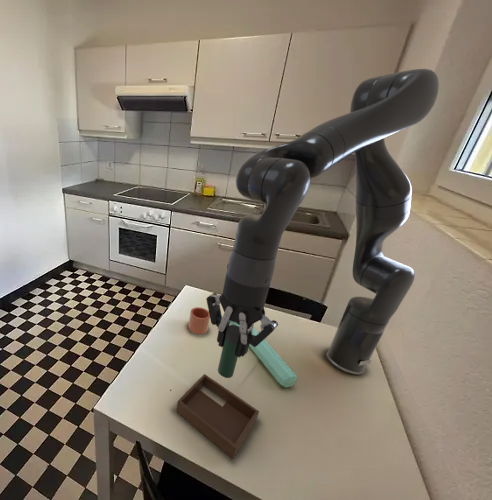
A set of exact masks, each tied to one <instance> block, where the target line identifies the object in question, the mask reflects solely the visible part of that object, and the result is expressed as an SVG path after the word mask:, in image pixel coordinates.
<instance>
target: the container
mask: <svg viewBox="0 0 492 500" xmlns="http://www.w3.org/2000/svg"><path fill="white" fill-rule="evenodd" d="M230 325H236V326H239V327H240V325H238V324H237V323H236V322H233V321H231V323H230ZM258 333H259V332H258V330H256V328H255V327H254V326H253V329H252V335H255V336H256V335H257V334H258ZM249 348H250V349H251V351H252V352H254V354H255V355H256V356H257V358H258V359H259V360H260V362H261V363H262V364H263V365H264V366H265V368H266V369H267V370H268V371H269V373H270V374H271V375H272V377H273V378H274V379H275V380H276V382H277V383H278V384H279V385H280V386H281V387H284V388H290V387H292V386H294V385H295V384H296V383H297V380H298V377H297V374H296V373H295V372H294V371H293V370H292V369H291V367H290V366H289V365H288V364H287V363H286V362H285V361H284V360H283V359H282V357H281V356H280V355H279V354H278V353H277V351H275V349H273V347H272V346H271V345H270V344H269V343H268V342H267V341H266V340H265V339H264V340H263V341H262V342H261V343H260V344H258V345H257V346H256V347H253V346H252V345H251V344H249Z"/></svg>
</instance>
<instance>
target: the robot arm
mask: <svg viewBox="0 0 492 500" xmlns="http://www.w3.org/2000/svg"><path fill="white" fill-rule="evenodd" d="M439 81H440V80H439V77H438V75H437V73H436V72H435V71H434V70H432V69H428V68H416V69H415V68H414V69H408V70H403V71H398V72H393V73H387V74H384V75H379V76H374V77H370V78H367V79H365V80H362V81H361V82H360V83H359V84H358V85H357V87H356V88H355V90H354V93H353V94H352V98H351V102H350V110H349V112H348V113H345V114H342V115H339V116H337V117H334V118H331V119H329V120H327V121H325V122H323V123H320V124H318V125H316V126H315V127H313V128H312V129H310V130H308V131H307V132H305V133H303V134H302V135H300V136H299V137H297V138H296V139H293V140H291V141H288V142H284V143H281V144H278V145H275V146H272V147H269V148H266V149H263V150H261V151H259V152H257V153H255V154H253V155H252V156H250V157H249V158H248V159H246V160H245V161H244V162H243V164H242V165H241V166H240V168H239V169H238V171H237V174H236V178H235V187H236V189H237V191H238V193H239V194H240V195H241V196H242V197H243V198H245V199H248V200H251V201H255V202H258V203H261V204H265V205H266V206H265V209H264V210H263V212H262V213H261V214H248V215H244V216H243V217H241V219H239V221H238V224H237V228H236V232H235V235H234V241H233V247H232V251H231V253H230V256H229V259H228V263H227V265H226V273H225V278H224V284H223V287H222V293H221V294H218V293H216V292H213V293H212V294H209V295H208V296H207V297H206V300H205V301H206V305H207V310H208V311H209V315H210V320H209V321H210V323H211V325H213V326H216V327H217V330H218V332H217V337H216V342H217V343H218V345H217V346H219V347H221V348H223V344H224V339H225V334H226V329H227V327H228V326H229V325H230V324H231V321H233V322H236V323H237V324H238V325H240V333H241V341H240V342H239V345H238V349H237V353H236V356H237V357H238V359H240V358H241V357H242V358H243V357H245V355H247V353H248V351H249V348H250V346H249V344H251V345H252V346H253V347H256V346H257V345H258V344H260V343H261V342H262V341H263V340H265V339H267V338H268V337H269V336H270V335H271V334H272V333H273V332H274V331H275V330H276V329H277V328H278V326H279V322H278V321H276V320H275V319H273V320H271V319H270V318H269V317H268V316H266V311H265V306H266V305H265V304H266V301H267V297H268V294H269V290H270V287H271V284H272V279H273V275H274V272H275V268H276V259H277V256H278V255H277V254H278V251H279V248H280V244H281V242H282V241H281V240H282V236H283V235H284V232H285V231H286V229H287V227H288V226H289V224H290V222H291V220H292V218H293V217H294V215H295V213H296V212H297V210H298V209H299V207H300V206H301V205H302V204H303V201H304V199H305V198H306V196H307V194H308V192H309V189H310V186H311V180H312V179H315V178H317V177H319V176H321V175H323V174H324V173H326V172H327V171H328V170H330V169H331V168H333V167H335V166H336V165H337V164H339V163H340V162H342V161H343V160H345V159H347V158H348V157H349V156H351V155H353V154H354V160H355V217H356V218H355V219H356V220H355V222H356V224H355V225H356V229H355V230H356V231H355V249H354V253H353V254H354V255H353V262H352V278H353V280H354V282H355V283H356V284H358V285H359V286H360V287H362V288H364V289H366V290H368V291H370V292H372V293H374V294H375V295H374V297H373V298H371V297H367V296H353V297H351V298H350V299H349V300H348V302H347V305H346V307H345V309H344V312H343V314H342V317H341V319H340V321H339V324H338V326H337V329H336V331H335V333H334V336H333V338H332V340H331V343H330V346H329V347H328V350H327V351H326V355H325V356H326V359H327V360H328V361H329V363H330V364H331V365H332V366H333V367H335V368H336V369H338V370H340V371H342V372H343V373H347V374H350V375H354V376H355V375H363V374H364V373H365V371H366V369H367V365H370V363H371V361H372V359H371V358H372V356H373V354H374V352H375V351H376V349H377V346H378V344H379V342H380V340H381V338H382V336H383V334H384V332H385V330H386V328H387V326H388V324H389V323H390V320H391V319H392V317H393V316H394V315H395V313H396V312H397V311H398V309H399V307H400V306H401V304H402V302H403V301H404V299H405V297H406V296H407V294H408V293H409V290H410V289H411V287H412V286H413V284H414V281H415V278H416V277H415V275H416V274H415V270H414V269H413V268H412V267H410V266H409V265H406V264H404V263H401V262H399V261H397V260H394V259H392V258H389V257H387V256H385V255H384V254H383V246H384V241H385V240H387V238H388V237H389V236H391V235H392V234H393V233H394V232H396V231H397V230H398V229H399V228H400V227H401V226H402V225H403V224H404V223H405V222H406V221H407V220H408V218H409V216H410V212H411V204H412V203H411V202H412V193H413V187H412V184H411V181H410V179H409V178H408V176H407V174H406V173H405V171H404V170H403V169H402V168H401V166H400V165H399V164H398V162H396V161H395V159H394V158H393V156H392V155H391V154H390V152H389V150H388V148H387V145H386V142H385V138H387V137H389V136H392V135H394V134H396V133H398V132H401V131H403V130H406V129H408V128H411V127H413V126H415V125H417V124H419V123H420V122H422V120H424V119H425V118H426V117H427V116H428V115H429V114H430V112H431V111H432V109H433V107H434V106H435V103H436V101H437V98H438V94H439V89H440V83H439ZM221 308H222V309H221ZM222 310H223V312H224V313H223V314H222ZM259 321H260V331H259V332H258V334H257V335H256V336H255V335H252V329H253V327H254V326H255V325H254V324H255V323H257V322H259Z"/></svg>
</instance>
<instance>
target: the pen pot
mask: <svg viewBox="0 0 492 500" xmlns="http://www.w3.org/2000/svg"><path fill="white" fill-rule="evenodd" d="M210 321H211V320H210V315H209V310H208V309H206V308H204V307H198V306H197V307H193V308H192V309H190V313H189V318H188V324H187V325H188V326H187V327H188V329H189V331H190V332H191V333H193V334H196V335H205V334H206V333H207V332H208V330H209V325H210Z"/></svg>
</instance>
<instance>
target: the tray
mask: <svg viewBox="0 0 492 500" xmlns="http://www.w3.org/2000/svg"><path fill="white" fill-rule="evenodd" d="M203 386H204V387H206V388H207V389H209V390H210V391H211V392H212V393H214V394H216V395H217V396H218V397H220V398H221V399H223V401H225V403H223V405H221V404H220V403H218V402H217V401H216V400H214V399H212V398H211V396H208V395H207V394H206V393H205V392H203V391H202V390H201V388H202V387H203ZM175 412H176V413H177V414H178V415H180V417H182V418H183V419H184V420H185V421H187V422H188V423H189V424H190V425H191V426H193V427H194V428H195V429H196V430H197V431H199V432H200V433H201V434H202V435H203V436H205V438H206V439H208V440H209V441H210V442H212V443H213V444H214V445H215V446H216V447H217V448H219V449H220V450H221V452H223V453H225V454H226V455H227V456H228V457H229V458H230V459H232V460H234V459H235V457H236V455H237V453H238V452H239V450H240V449H241V447H242V445H243V444H244V442H245V440H246V439H247V437H248V435H249V434H250V432H251V431H252V429H253V427H254V425H256V423H257V419H258V417H259V414H260V410H258V409H257V408H255V407H254V406H252V405H251V404H249V403H248V402H246V401H245V400H244V399H242V398H241V397H239V396H238V395H236V394H235V393H233V392H232V391H230V390H229V389H227V388H226V387H225V386H223V385H221V384H220V383H218V382H217V381H216V380H214V379H212V378H211V377H210V376H209V375H207V374H206V373H203V374H202V375H201V377H199V378H198V380H197V381H196V382H195V383H194V384H193V385H192V386H191V387H190V388H189V389H187V391H186V392H185V393H184V394H183V395H182V396H181V397H180V398H179V399H178V400H177V404H176V410H175Z"/></svg>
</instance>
